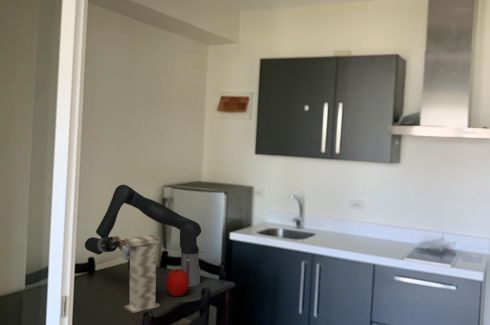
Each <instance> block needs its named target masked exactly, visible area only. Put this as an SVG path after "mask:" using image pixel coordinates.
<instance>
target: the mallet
mask: <svg viewBox="0 0 490 325" xmlns="http://www.w3.org/2000/svg"><path fill="white" fill-rule="evenodd" d="M112 237H113V241H115V242H116V241H119V242H120V246H117V248H118V250H119V251H120V252H121V253H120V254H121V255H120V256H121V257H122V259H123V260H124V261H128V260H130V245H128V244H127V245H125V243H124V242H123V241H122V239H121V238H120V237H119V236H118V235H117V236H112Z"/></svg>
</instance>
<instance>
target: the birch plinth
mask: <svg viewBox="0 0 490 325" xmlns="http://www.w3.org/2000/svg"><path fill="white" fill-rule="evenodd" d="M133 237H134V238H132V237H128V238H124V239H123V240H124V243H125V244H127V245H130V270H129V304H126V305H123V308H124V309H125V310H127V311H129V312H130V313H132V314H134V313H138V312H141V311H146V310H151V309H154V308H159V307H160V303H158V302H157V301H156V289H157V288H156V285H157V284H156V283H157V282H156V279H157V276H156V275H157V274H156V272H157V244H159V243H161V237H158V236H155V235H153V234H150V235H143V236H133Z"/></svg>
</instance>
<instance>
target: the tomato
mask: <svg viewBox="0 0 490 325" xmlns="http://www.w3.org/2000/svg"><path fill="white" fill-rule="evenodd" d="M165 287H166V291H167V293H168V294H169V295H171V296H173V297H178V296H183V295H184V294H185V293H186V292H187V289H188V288H189V287H188V276H187V274H186V273H185V272H184V271H183V270H181V268H175V269H173V270H169V273H168V274H167V276H166V278H165Z"/></svg>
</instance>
